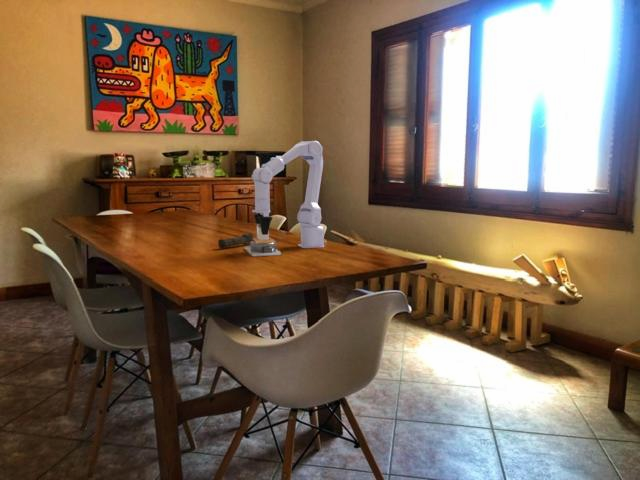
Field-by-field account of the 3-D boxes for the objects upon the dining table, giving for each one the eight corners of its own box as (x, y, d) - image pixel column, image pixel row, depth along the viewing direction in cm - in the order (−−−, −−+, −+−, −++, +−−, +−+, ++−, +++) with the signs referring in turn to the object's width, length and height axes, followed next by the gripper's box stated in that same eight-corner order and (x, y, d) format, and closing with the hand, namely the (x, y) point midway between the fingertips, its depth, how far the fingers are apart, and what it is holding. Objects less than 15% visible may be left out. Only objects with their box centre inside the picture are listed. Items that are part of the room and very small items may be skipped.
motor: (270, 247, 214) (270, 235, 214) (280, 254, 197) (280, 242, 197) (244, 249, 211) (244, 236, 210) (252, 256, 194) (252, 243, 193)
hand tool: (223, 249, 208) (224, 238, 207) (217, 247, 211) (217, 236, 210) (257, 244, 223) (258, 233, 222) (251, 242, 225) (252, 232, 224)
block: (267, 240, 206) (266, 223, 205) (269, 242, 202) (268, 224, 201) (257, 241, 205) (256, 223, 204) (259, 242, 201) (258, 225, 200)
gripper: (249, 197, 207) (249, 231, 209) (255, 200, 193) (256, 236, 195) (266, 197, 209) (266, 230, 211) (274, 199, 195) (274, 235, 197)
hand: (263, 233), depth 203 cm, fingers open, 7 cm apart
